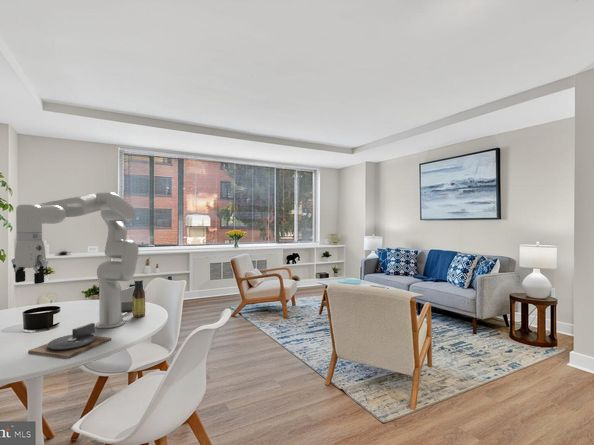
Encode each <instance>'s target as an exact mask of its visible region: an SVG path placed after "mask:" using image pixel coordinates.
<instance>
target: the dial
mask: <svg viewBox="0 0 594 445" xmlns="http://www.w3.org/2000/svg"><path fill="white" fill-rule="evenodd" d="M71 330H72V334H67V335H64V336H60V337H57V338H54V339H52V340H50V341H49V342H48V343H47V344H48V349H50V350H55V351H61V350H70V349H76V348H80V347H83V346H86V345H88V344H91V343H92V342H94V340H95V336H96V335H95V334H94V333H96V323H94V322H93V323H92V322H90V323H87V324H84V325H82V326H78V327H75V328H72V329H71Z"/></svg>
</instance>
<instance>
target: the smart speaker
mask: <svg viewBox="0 0 594 445" xmlns="http://www.w3.org/2000/svg"><path fill="white" fill-rule="evenodd" d="M134 289H135V285H133V286H129V287H127V288H124V289H121V312H125V311H126V312H133V302H132V295H133V292H134Z"/></svg>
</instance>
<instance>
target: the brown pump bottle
mask: <svg viewBox="0 0 594 445" xmlns="http://www.w3.org/2000/svg"><path fill="white" fill-rule="evenodd" d="M143 282H144V280H143V279H135V280H134V286H135V289H134V292H133V295H132V302H133V311H132V317H133V318H142V317H144V316H145V315H146V293H145V292H146V291H145V290H144V288H143Z"/></svg>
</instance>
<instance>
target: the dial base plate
mask: <svg viewBox="0 0 594 445" xmlns="http://www.w3.org/2000/svg"><path fill="white" fill-rule="evenodd" d="M94 336H95V340H94V342H92V343H91V344H88V345H86V346H83V347H80V348H76V349H70V350H61V351H55V350H50V349H48V343H44V344H42V345H40V346H36V347H34V348H31V349H29V350H28V352H27V353H28V354H33V355H41V356H47V357H54V358H55V357H56V358H60V359H61V358H62V359H70V358H73V357H76V356H78V355H80V354H82V353H84V352H87V351H89V350H91V349H94V348H96V347H99V346H101V345H103V344H105V342H106V343H108V342H110V341H112V337H110V336H99V335H94Z"/></svg>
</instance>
